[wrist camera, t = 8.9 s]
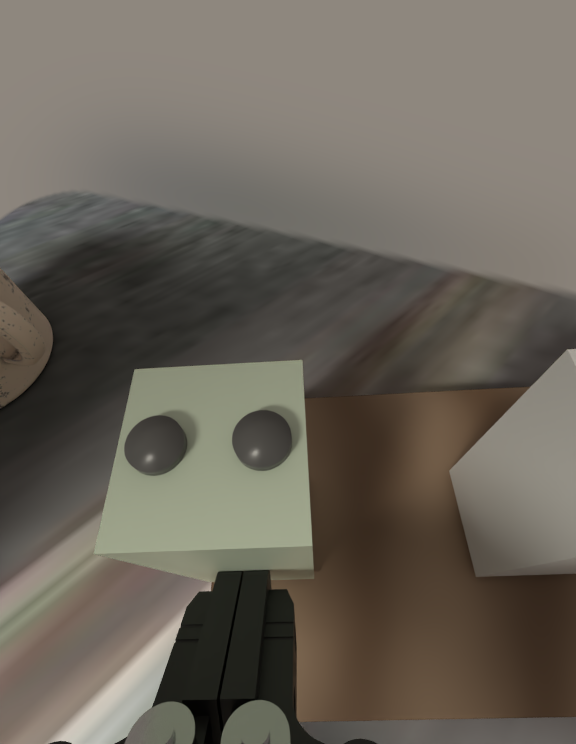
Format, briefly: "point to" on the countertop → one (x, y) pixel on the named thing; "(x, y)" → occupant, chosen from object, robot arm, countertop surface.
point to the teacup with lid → (20, 341)
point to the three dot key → (524, 482)
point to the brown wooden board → (417, 575)
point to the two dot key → (212, 473)
